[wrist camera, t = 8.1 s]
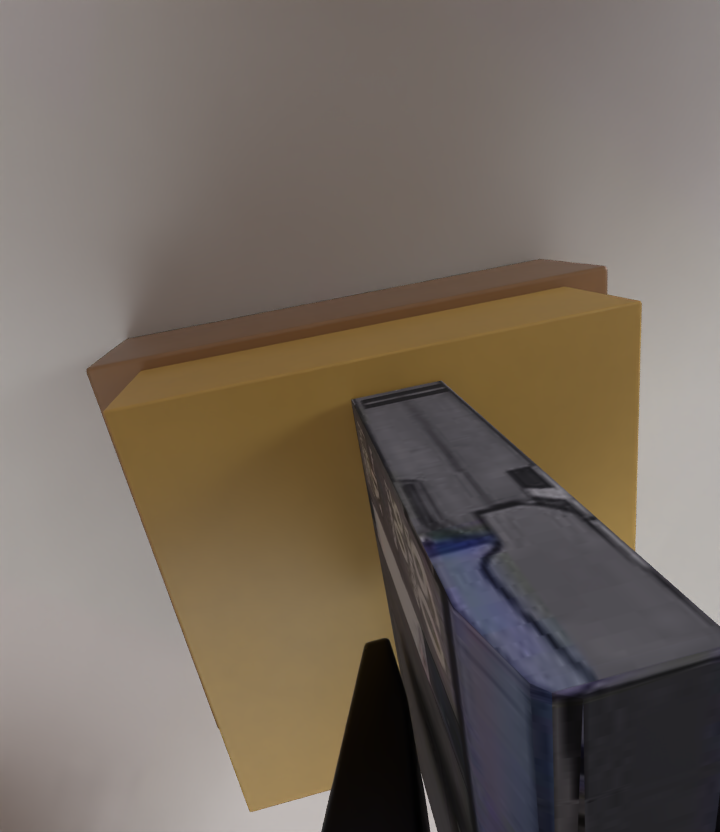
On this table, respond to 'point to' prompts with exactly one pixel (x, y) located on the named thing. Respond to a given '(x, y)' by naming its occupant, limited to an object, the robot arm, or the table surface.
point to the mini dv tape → (532, 637)
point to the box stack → (345, 473)
